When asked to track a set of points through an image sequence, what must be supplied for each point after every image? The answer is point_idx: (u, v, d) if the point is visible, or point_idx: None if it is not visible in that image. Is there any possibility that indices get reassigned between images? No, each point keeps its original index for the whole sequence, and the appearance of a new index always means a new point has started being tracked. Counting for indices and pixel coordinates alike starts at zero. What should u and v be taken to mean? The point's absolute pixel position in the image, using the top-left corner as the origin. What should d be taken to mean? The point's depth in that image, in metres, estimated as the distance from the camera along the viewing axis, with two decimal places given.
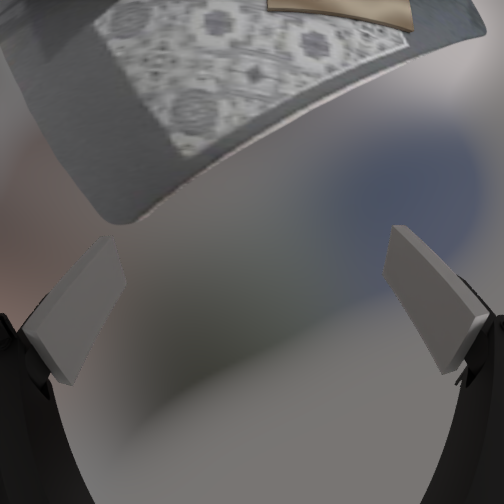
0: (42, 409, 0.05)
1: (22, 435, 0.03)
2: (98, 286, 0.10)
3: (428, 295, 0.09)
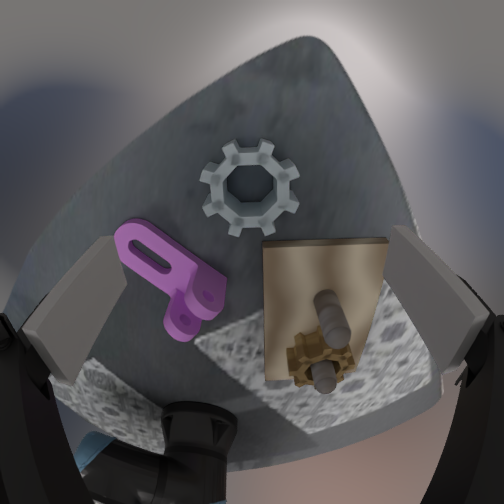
0: (42, 409, 0.05)
1: (22, 434, 0.03)
2: (98, 286, 0.10)
3: (428, 295, 0.09)
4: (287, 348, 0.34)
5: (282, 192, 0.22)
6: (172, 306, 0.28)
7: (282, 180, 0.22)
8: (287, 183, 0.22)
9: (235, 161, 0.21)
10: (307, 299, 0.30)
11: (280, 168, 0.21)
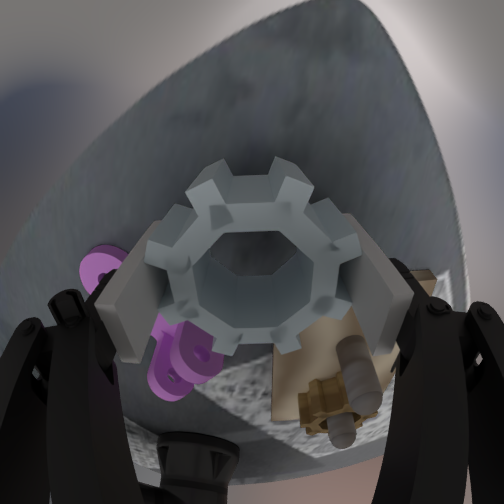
0: (106, 396, 0.06)
1: (82, 425, 0.04)
2: None
3: (360, 277, 0.10)
4: (299, 393, 0.27)
5: (322, 286, 0.10)
6: (157, 358, 0.20)
7: (325, 263, 0.10)
8: (335, 269, 0.10)
9: (219, 223, 0.09)
10: (328, 346, 0.23)
11: (323, 238, 0.09)
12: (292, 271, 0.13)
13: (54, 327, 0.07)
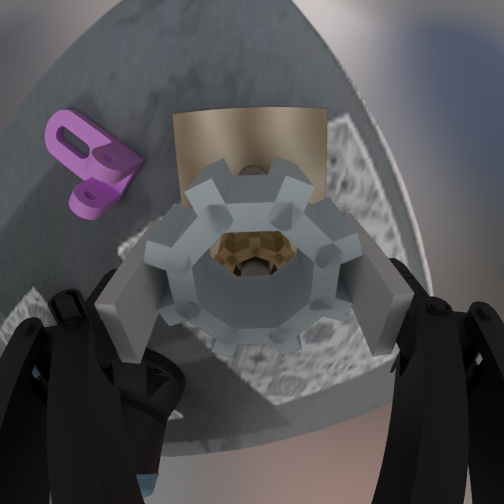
0: (106, 396, 0.06)
1: (82, 425, 0.04)
2: None
3: (360, 277, 0.10)
4: (216, 254, 0.29)
5: (322, 286, 0.10)
6: (81, 183, 0.22)
7: (325, 263, 0.10)
8: (335, 269, 0.10)
9: (218, 223, 0.09)
10: None
11: (324, 239, 0.09)
12: (292, 271, 0.13)
13: (54, 327, 0.07)
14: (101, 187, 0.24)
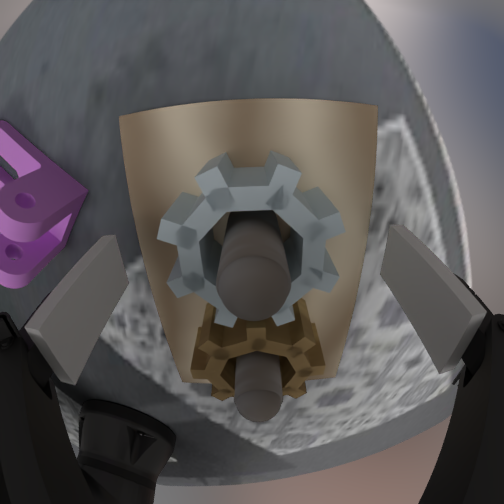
0: (44, 408, 0.05)
1: (24, 434, 0.03)
2: (100, 285, 0.10)
3: (425, 294, 0.09)
4: (200, 327, 0.19)
5: (311, 260, 0.12)
6: None
7: (313, 239, 0.12)
8: (322, 244, 0.12)
9: (222, 203, 0.11)
10: None
11: (311, 217, 0.11)
12: (286, 251, 0.15)
13: None
14: None
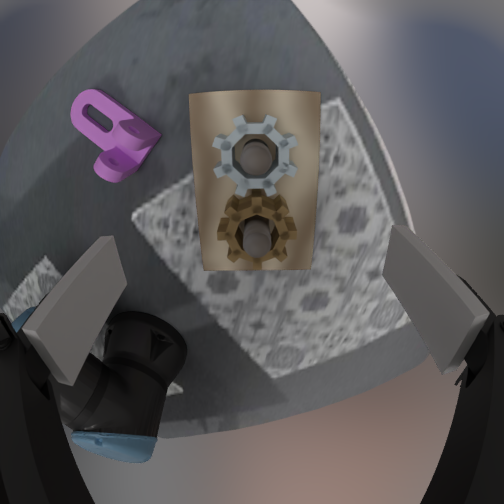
0: (42, 409, 0.05)
1: (22, 435, 0.03)
2: (98, 286, 0.10)
3: (428, 295, 0.09)
4: (221, 217, 0.32)
5: (283, 158, 0.25)
6: (105, 151, 0.26)
7: (283, 147, 0.25)
8: (287, 150, 0.25)
9: (243, 130, 0.24)
10: (235, 149, 0.28)
11: (281, 137, 0.24)
12: (273, 163, 0.28)
13: None
14: (122, 157, 0.28)
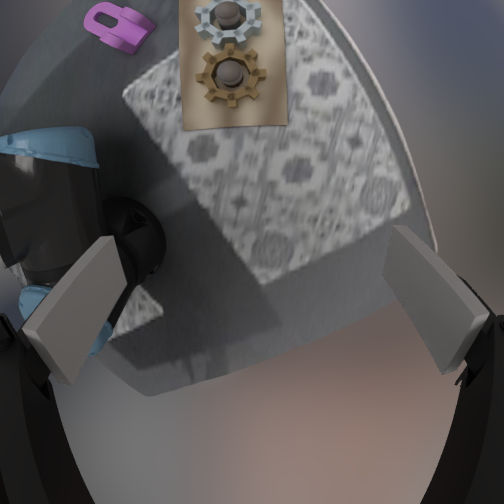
0: (42, 409, 0.05)
1: (22, 434, 0.03)
2: (98, 286, 0.10)
3: (428, 295, 0.09)
4: None
5: (249, 15, 0.23)
6: (110, 33, 0.24)
7: (249, 9, 0.23)
8: (253, 10, 0.23)
9: (218, 0, 0.22)
10: (214, 25, 0.27)
11: (248, 3, 0.22)
12: None
13: None
14: (123, 39, 0.26)
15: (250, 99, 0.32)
